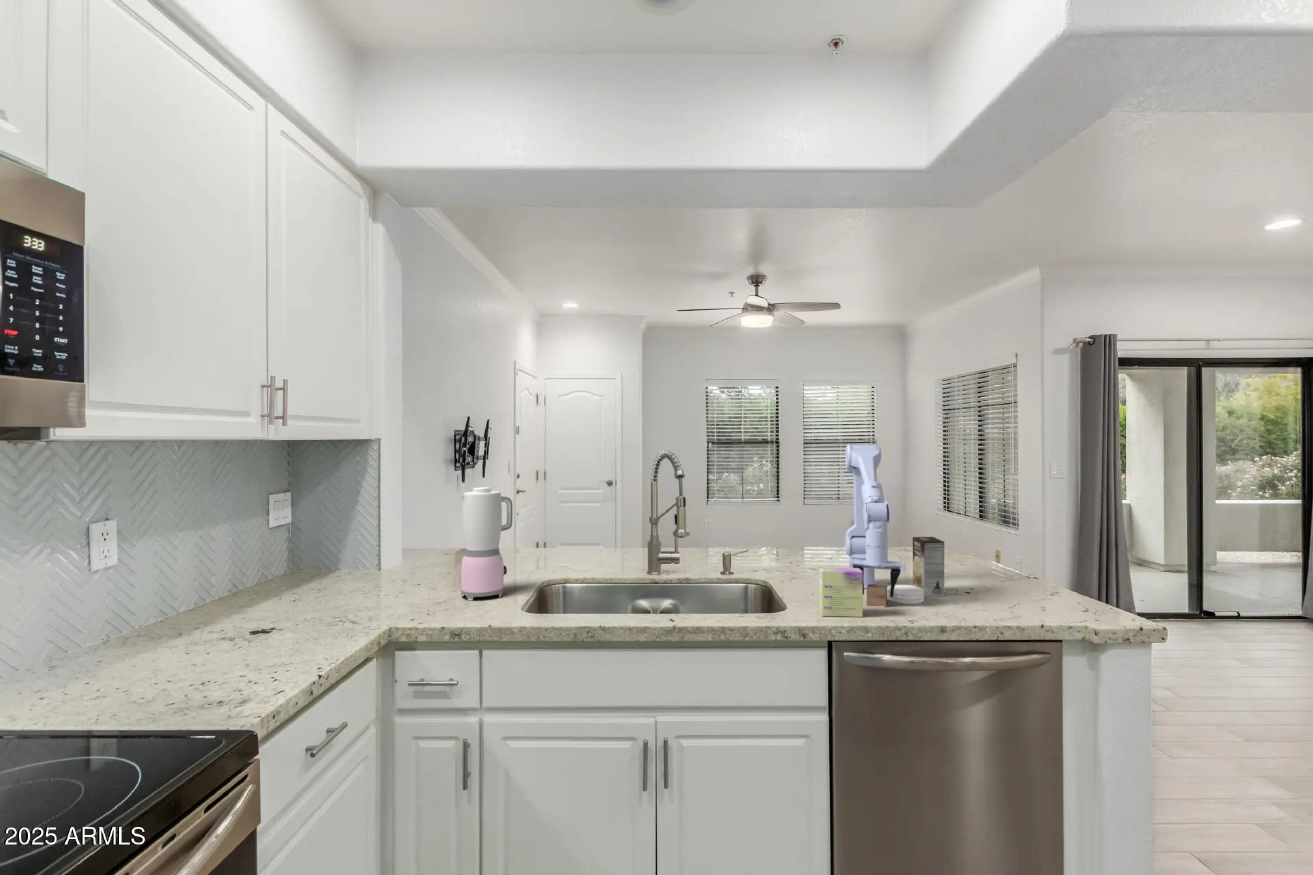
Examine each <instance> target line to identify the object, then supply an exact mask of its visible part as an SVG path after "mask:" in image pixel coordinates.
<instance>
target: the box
mask: <svg viewBox="0 0 1313 875" xmlns="http://www.w3.org/2000/svg"><path fill="white" fill-rule="evenodd" d="M863 603H864V598H863V572H862V571H861V570H860V569H859V568H850V567H828V566H827V567H826V566H825V567H824V566H823V567H822V566H821V567H820V566H819V567H818V611H819V613H820V614H821V616H822V617H846V618H847V617H851V618H863V617H864V615H863V614H864V612H863V611H864V609H863V607H864V605H863Z"/></svg>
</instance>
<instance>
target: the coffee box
mask: <svg viewBox="0 0 1313 875" xmlns="http://www.w3.org/2000/svg"><path fill="white" fill-rule="evenodd" d="M912 586H916V587H919V588H922V589H923V590H924V598H925V597H932V598H933V597H942V598H943V597H945V540H942V539H939V538H937V537H934V536H913V537H912Z"/></svg>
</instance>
